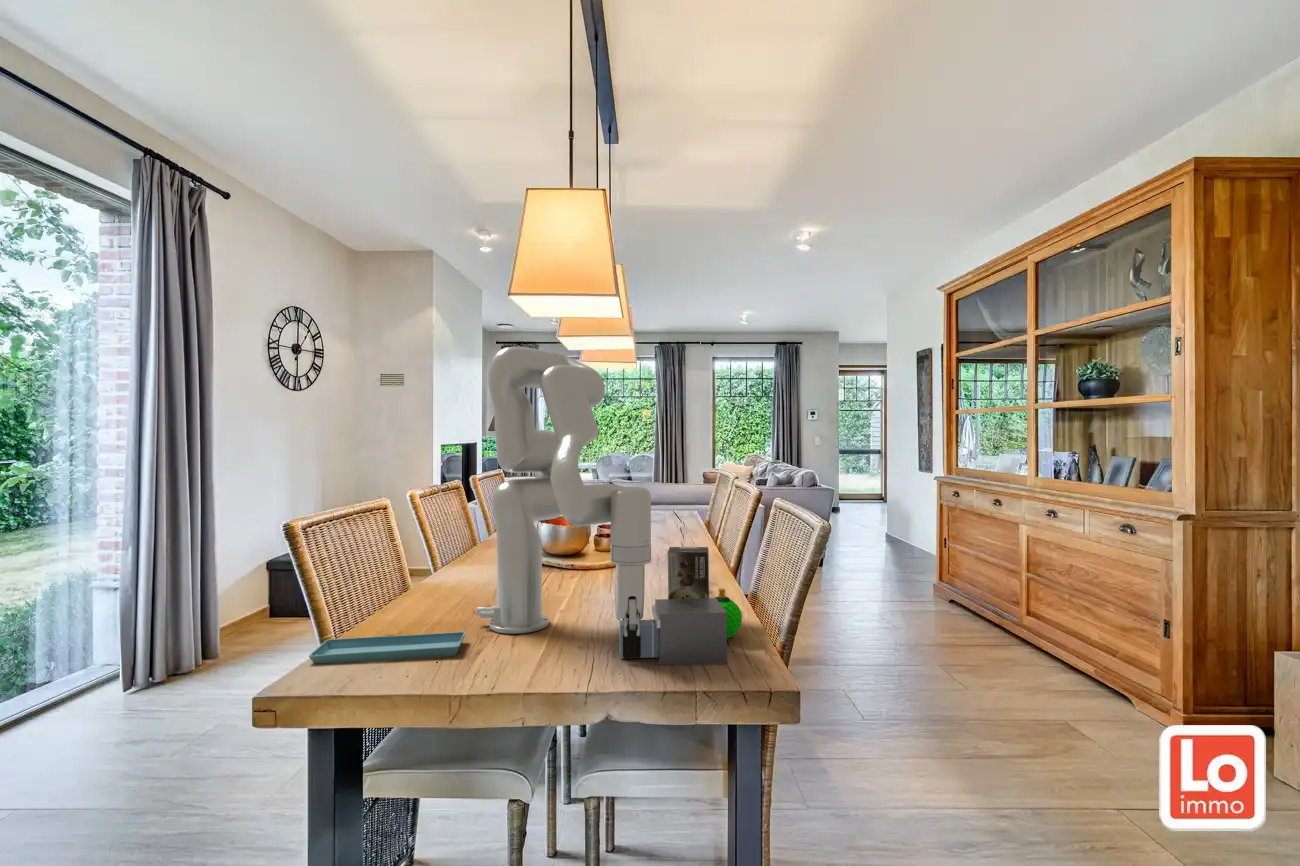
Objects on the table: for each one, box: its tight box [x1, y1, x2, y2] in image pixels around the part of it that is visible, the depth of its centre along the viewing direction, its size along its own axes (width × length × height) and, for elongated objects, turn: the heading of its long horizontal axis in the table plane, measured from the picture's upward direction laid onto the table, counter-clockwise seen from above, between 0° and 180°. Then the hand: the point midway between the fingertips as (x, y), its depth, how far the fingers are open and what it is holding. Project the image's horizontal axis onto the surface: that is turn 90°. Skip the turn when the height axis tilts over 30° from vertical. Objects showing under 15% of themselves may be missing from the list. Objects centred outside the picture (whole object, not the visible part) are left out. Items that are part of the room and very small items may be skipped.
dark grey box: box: [651, 597, 728, 667], centre depth 114 cm, size 13×10×9 cm
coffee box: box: [667, 546, 710, 599], centre depth 135 cm, size 9×6×16 cm
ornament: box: [714, 587, 743, 640], centre depth 124 cm, size 8×8×10 cm
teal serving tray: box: [308, 631, 467, 664], centre depth 116 cm, size 26×9×2 cm, turn 99°
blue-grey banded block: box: [619, 619, 659, 659], centre depth 114 cm, size 14×3×6 cm, turn 95°
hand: (630, 650), depth 113 cm, fingers open, 6 cm apart
